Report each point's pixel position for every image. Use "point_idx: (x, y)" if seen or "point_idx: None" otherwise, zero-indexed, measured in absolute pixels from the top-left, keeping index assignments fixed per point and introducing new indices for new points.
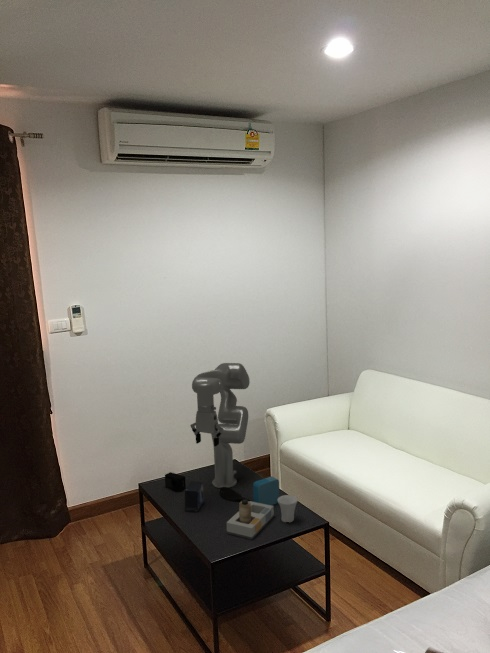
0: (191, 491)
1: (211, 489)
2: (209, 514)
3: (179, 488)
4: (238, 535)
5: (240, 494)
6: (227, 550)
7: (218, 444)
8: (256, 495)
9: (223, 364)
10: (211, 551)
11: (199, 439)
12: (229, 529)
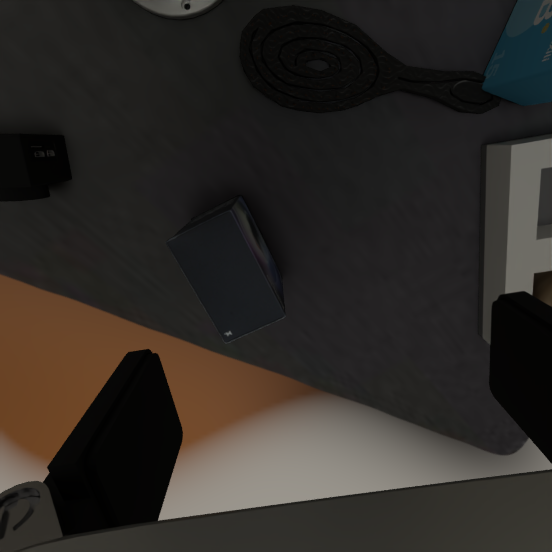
0: (260, 327)
1: (171, 55)
2: (336, 265)
3: (59, 181)
4: None
5: (369, 39)
6: None
7: (518, 296)
8: (544, 92)
9: None
10: (485, 428)
11: (153, 422)
12: None
